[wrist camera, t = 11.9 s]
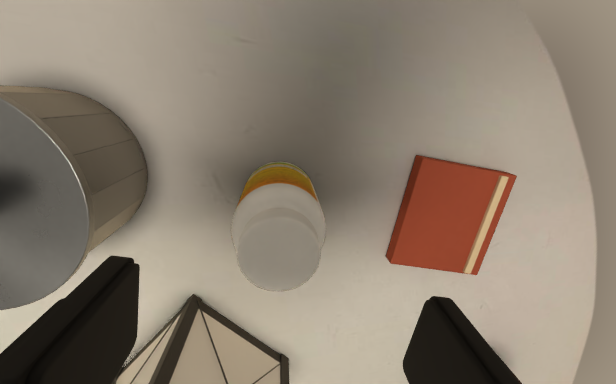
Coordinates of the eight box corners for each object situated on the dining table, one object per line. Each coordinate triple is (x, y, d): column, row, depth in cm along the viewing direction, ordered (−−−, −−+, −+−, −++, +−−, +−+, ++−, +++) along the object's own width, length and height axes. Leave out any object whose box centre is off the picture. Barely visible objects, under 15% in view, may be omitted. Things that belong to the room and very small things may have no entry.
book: (416, 154, 23) (425, 158, 22) (506, 172, 24) (520, 176, 23) (385, 256, 26) (391, 265, 24) (468, 267, 27) (479, 277, 26)
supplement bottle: (232, 176, 23) (198, 230, 13) (298, 149, 22) (310, 184, 13) (262, 236, 24) (251, 320, 15) (323, 210, 24) (350, 280, 15)
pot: (-23, 73, 19) (-203, 58, 12) (151, 107, 21) (83, 111, 13) (-7, 224, 22) (-145, 284, 15) (144, 244, 24) (85, 306, 16)
